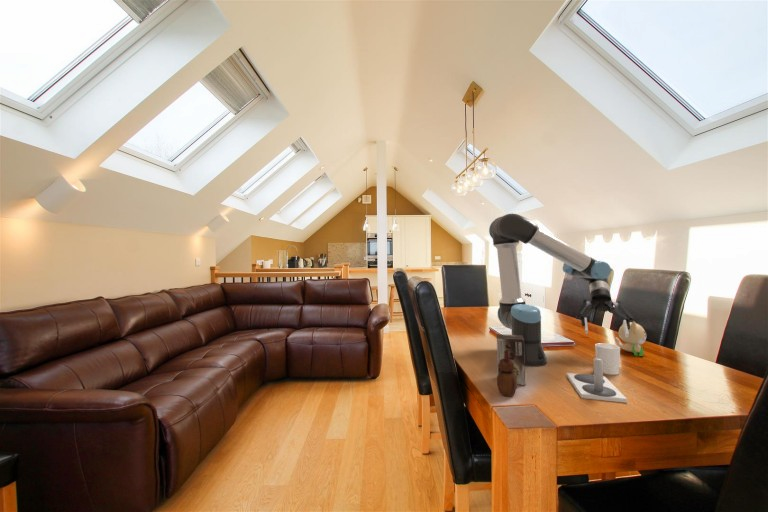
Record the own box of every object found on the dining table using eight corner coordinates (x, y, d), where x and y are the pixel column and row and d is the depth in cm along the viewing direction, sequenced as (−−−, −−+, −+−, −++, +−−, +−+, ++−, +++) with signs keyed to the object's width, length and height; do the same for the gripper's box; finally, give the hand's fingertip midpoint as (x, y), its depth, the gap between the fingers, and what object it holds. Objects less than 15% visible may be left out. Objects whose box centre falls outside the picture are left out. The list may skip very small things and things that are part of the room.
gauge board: (581, 397, 98) (580, 362, 98) (566, 376, 116) (566, 346, 116) (627, 402, 94) (626, 365, 94) (604, 379, 112) (603, 348, 112)
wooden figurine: (514, 400, 97) (513, 351, 97) (495, 396, 100) (494, 349, 100) (518, 392, 103) (517, 346, 103) (500, 388, 106) (499, 344, 106)
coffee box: (524, 379, 114) (523, 335, 114) (525, 386, 107) (524, 339, 108) (497, 376, 117) (496, 333, 117) (497, 383, 110) (496, 337, 111)
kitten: (655, 358, 135) (654, 323, 135) (628, 356, 138) (627, 322, 138) (638, 348, 149) (637, 317, 150) (613, 347, 152) (612, 316, 152)
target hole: (578, 382, 107) (578, 382, 107) (571, 373, 115) (571, 372, 115) (608, 385, 104) (608, 384, 104) (599, 375, 112) (599, 375, 112)
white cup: (626, 375, 116) (625, 348, 116) (604, 375, 116) (603, 348, 116) (611, 368, 123) (610, 343, 124) (591, 368, 124) (590, 343, 124)
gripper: (633, 299, 137) (643, 341, 124) (567, 297, 149) (570, 335, 135) (636, 288, 133) (646, 331, 119) (568, 287, 144) (571, 326, 131)
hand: (606, 333), depth 127 cm, fingers open, 13 cm apart
